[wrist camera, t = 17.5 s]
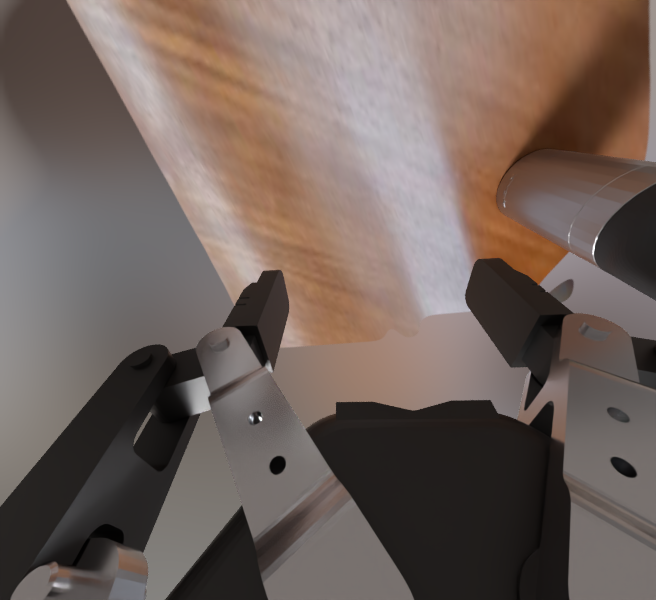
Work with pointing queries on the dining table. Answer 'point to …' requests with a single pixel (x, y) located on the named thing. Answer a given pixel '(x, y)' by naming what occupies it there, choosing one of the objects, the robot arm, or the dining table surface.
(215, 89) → the dining table surface
